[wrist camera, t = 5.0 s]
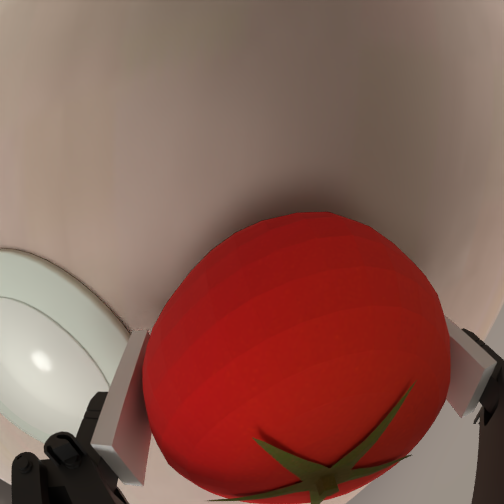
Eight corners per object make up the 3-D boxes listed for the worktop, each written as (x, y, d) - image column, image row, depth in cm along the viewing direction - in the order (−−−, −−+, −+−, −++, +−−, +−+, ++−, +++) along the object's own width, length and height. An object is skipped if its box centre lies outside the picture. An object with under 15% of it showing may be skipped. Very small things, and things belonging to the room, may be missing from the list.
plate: (-69, 265, 13) (-77, 270, 12) (109, 225, 15) (101, 231, 14) (18, 435, 20) (14, 443, 18) (186, 453, 21) (185, 465, 20)
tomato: (135, 348, 16) (87, 510, 6) (241, 151, 13) (304, 145, 3) (293, 408, 19) (333, 540, 9) (408, 263, 16) (540, 364, 6)
